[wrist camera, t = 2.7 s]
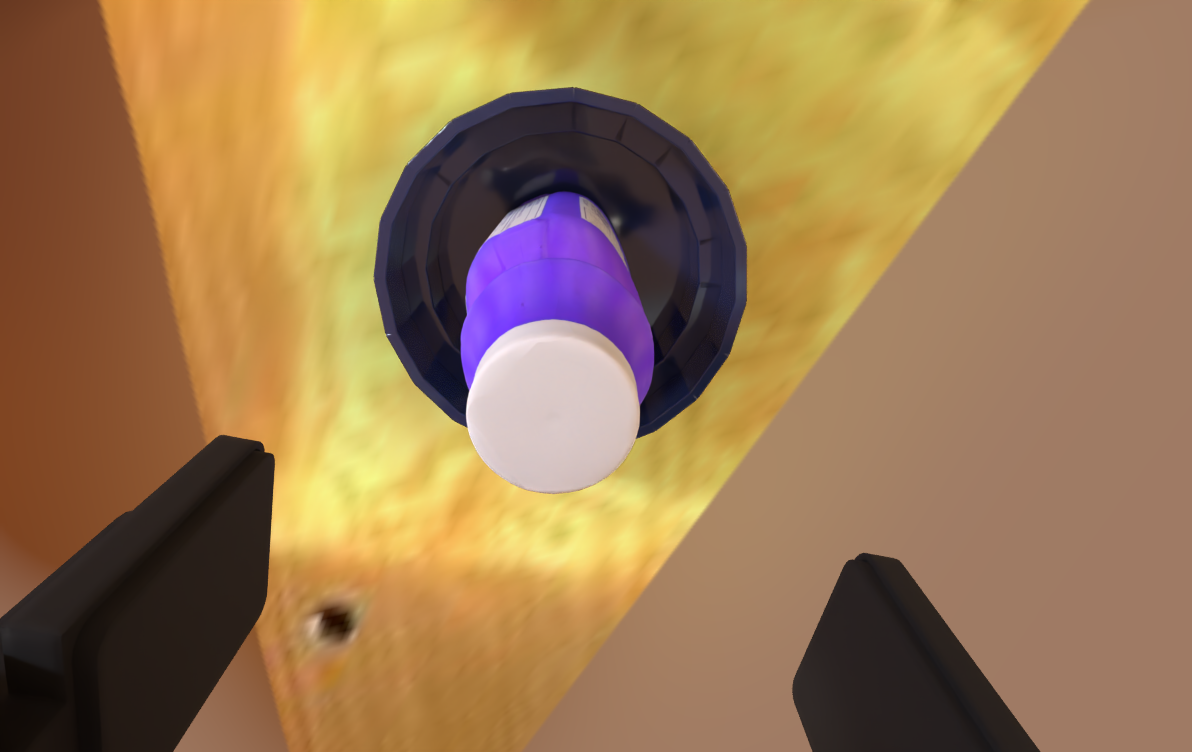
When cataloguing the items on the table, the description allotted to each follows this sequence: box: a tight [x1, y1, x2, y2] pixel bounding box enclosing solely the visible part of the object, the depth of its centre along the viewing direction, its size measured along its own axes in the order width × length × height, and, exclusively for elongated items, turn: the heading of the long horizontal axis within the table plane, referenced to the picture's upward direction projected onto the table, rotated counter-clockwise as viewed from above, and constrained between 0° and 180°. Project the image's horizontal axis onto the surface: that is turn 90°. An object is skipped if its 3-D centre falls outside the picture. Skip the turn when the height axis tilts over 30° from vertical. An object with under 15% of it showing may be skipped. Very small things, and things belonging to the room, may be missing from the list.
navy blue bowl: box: [374, 87, 747, 439], centre depth 29 cm, size 15×15×6 cm
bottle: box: [461, 191, 654, 494], centre depth 23 cm, size 7×6×17 cm
